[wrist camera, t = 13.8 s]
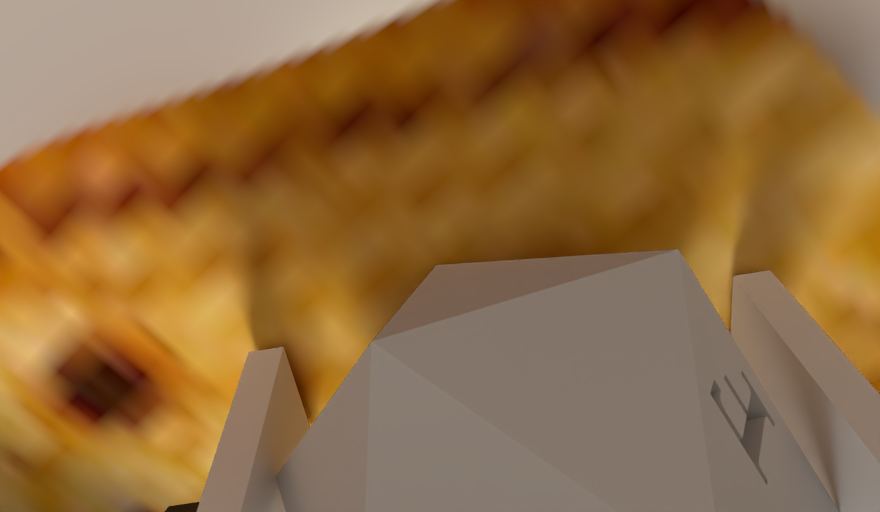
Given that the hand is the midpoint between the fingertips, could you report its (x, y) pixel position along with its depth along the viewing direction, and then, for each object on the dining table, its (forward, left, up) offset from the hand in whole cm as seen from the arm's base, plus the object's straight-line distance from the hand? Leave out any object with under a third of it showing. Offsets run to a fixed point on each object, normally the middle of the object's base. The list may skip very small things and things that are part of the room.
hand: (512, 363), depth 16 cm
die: (0, 0, 0) cm, 0 cm away
